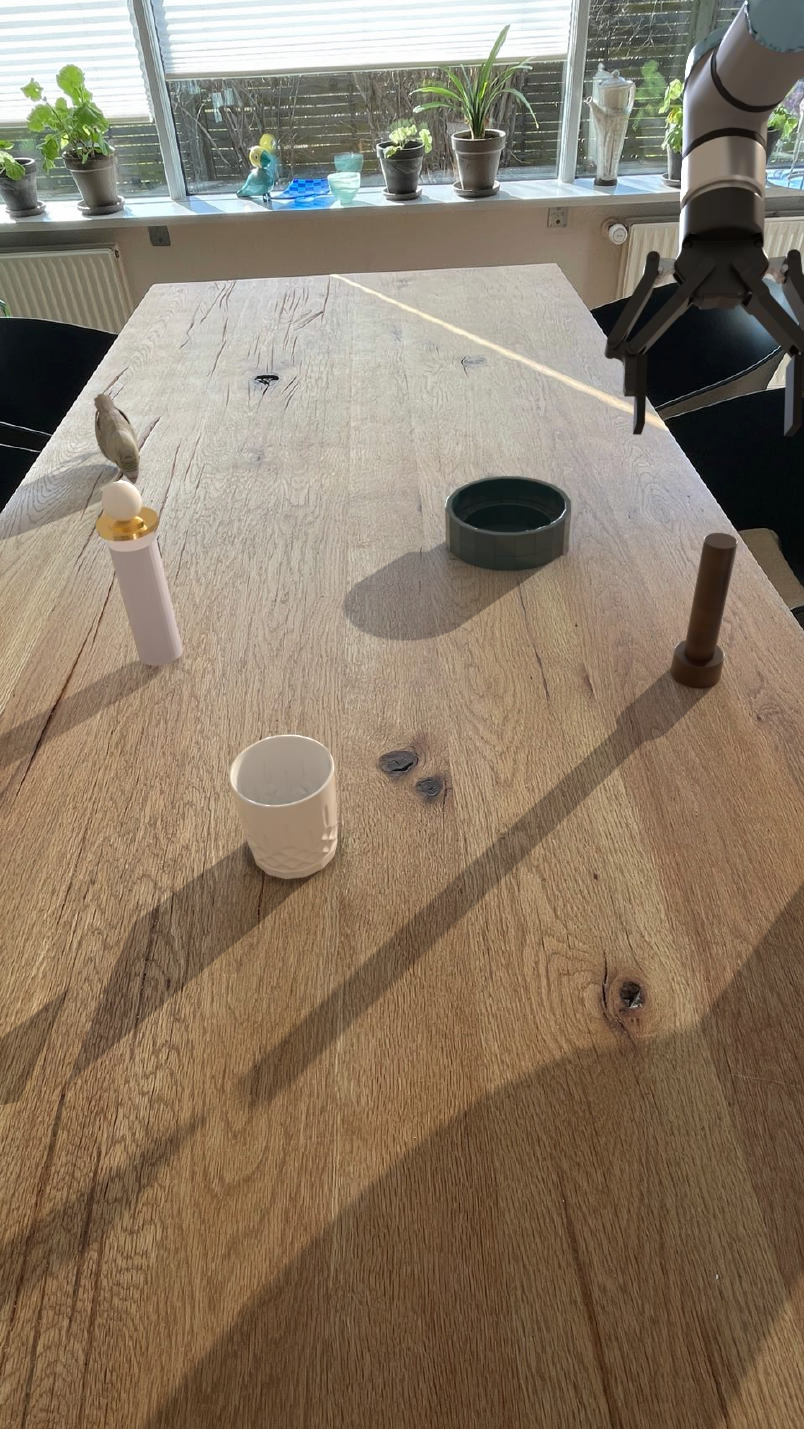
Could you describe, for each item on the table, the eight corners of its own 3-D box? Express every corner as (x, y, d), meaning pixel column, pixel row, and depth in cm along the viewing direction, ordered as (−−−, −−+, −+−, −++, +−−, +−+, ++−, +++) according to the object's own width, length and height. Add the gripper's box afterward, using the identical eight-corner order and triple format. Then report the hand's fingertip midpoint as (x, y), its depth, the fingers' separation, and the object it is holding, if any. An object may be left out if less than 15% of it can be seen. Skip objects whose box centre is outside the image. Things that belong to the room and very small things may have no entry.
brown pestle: (714, 672, 94) (744, 528, 83) (720, 701, 90) (752, 554, 80) (666, 670, 94) (690, 526, 84) (670, 699, 91) (696, 553, 80)
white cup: (305, 911, 73) (290, 821, 67) (228, 871, 77) (206, 782, 70) (364, 845, 78) (354, 756, 72) (289, 810, 82) (273, 722, 75)
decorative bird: (115, 489, 130) (102, 437, 126) (94, 446, 142) (81, 397, 137) (154, 480, 132) (142, 429, 127) (130, 438, 144) (119, 390, 139)
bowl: (567, 521, 118) (570, 476, 114) (568, 583, 107) (571, 536, 103) (451, 519, 120) (451, 475, 116) (441, 580, 109) (440, 533, 105)
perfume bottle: (190, 670, 98) (148, 493, 85) (133, 678, 97) (82, 501, 84) (190, 639, 102) (149, 465, 89) (135, 646, 101) (87, 473, 89)
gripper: (848, 229, 90) (844, 446, 89) (582, 233, 93) (573, 443, 92) (878, 178, 83) (874, 414, 81) (588, 185, 86) (579, 412, 84)
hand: (715, 430), depth 87 cm, fingers open, 13 cm apart
